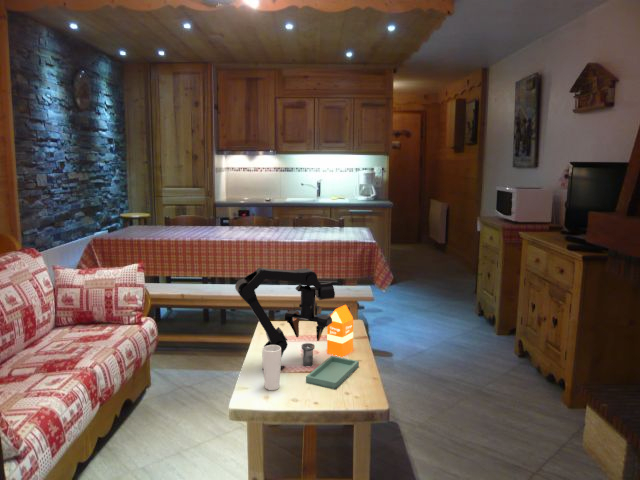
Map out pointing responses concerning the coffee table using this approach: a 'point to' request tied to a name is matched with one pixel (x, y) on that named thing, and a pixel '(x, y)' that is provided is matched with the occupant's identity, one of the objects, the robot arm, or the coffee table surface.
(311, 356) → the grey flanged cylinder
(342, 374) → the tray
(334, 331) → the orange juice
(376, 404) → the coffee table surface
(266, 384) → the drinking glass
